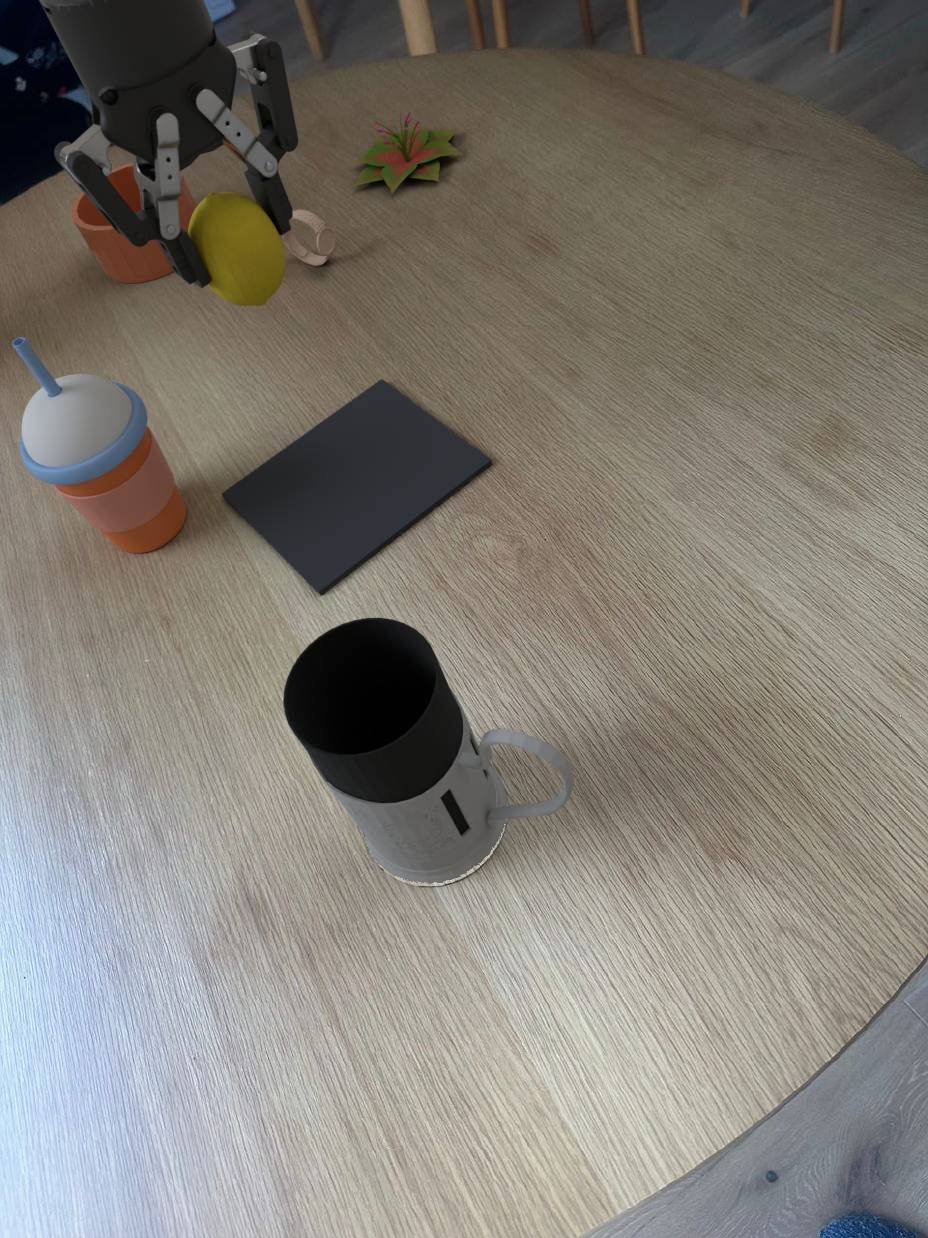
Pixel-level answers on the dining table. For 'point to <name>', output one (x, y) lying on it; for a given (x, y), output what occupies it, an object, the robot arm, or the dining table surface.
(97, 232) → the cup
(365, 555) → the mat
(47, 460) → the cup with straw
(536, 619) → the dining table surface
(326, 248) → the wristwatch
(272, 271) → the lemon
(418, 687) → the gray and black mug
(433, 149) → the lily flower
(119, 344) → the dining table surface
